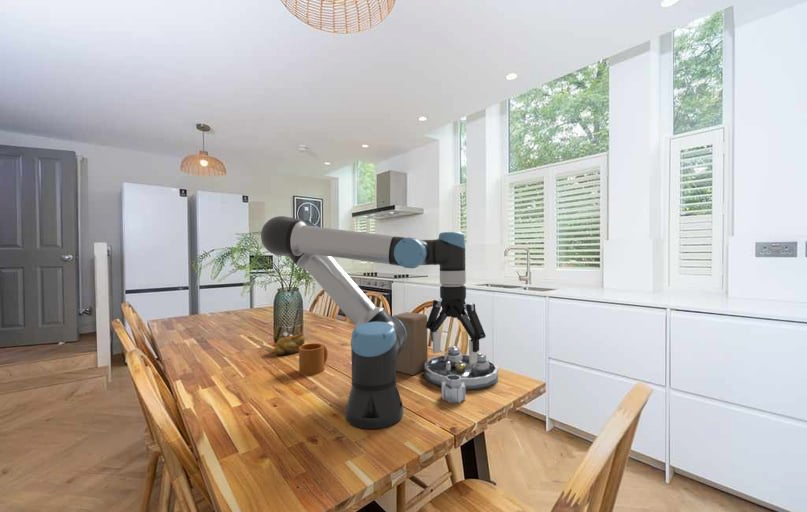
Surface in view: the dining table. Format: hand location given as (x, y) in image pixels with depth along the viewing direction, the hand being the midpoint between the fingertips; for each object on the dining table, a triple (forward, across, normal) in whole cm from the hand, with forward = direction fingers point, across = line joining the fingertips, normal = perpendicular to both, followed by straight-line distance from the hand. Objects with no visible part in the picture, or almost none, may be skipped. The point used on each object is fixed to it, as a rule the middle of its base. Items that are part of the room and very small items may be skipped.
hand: (454, 357), depth 98 cm
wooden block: (+12, +26, -7) cm, 30 cm away
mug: (+12, +50, +18) cm, 55 cm away
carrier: (+12, +10, -15) cm, 22 cm away
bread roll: (+12, +78, +17) cm, 81 cm away
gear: (+12, 0, 0) cm, 12 cm away
